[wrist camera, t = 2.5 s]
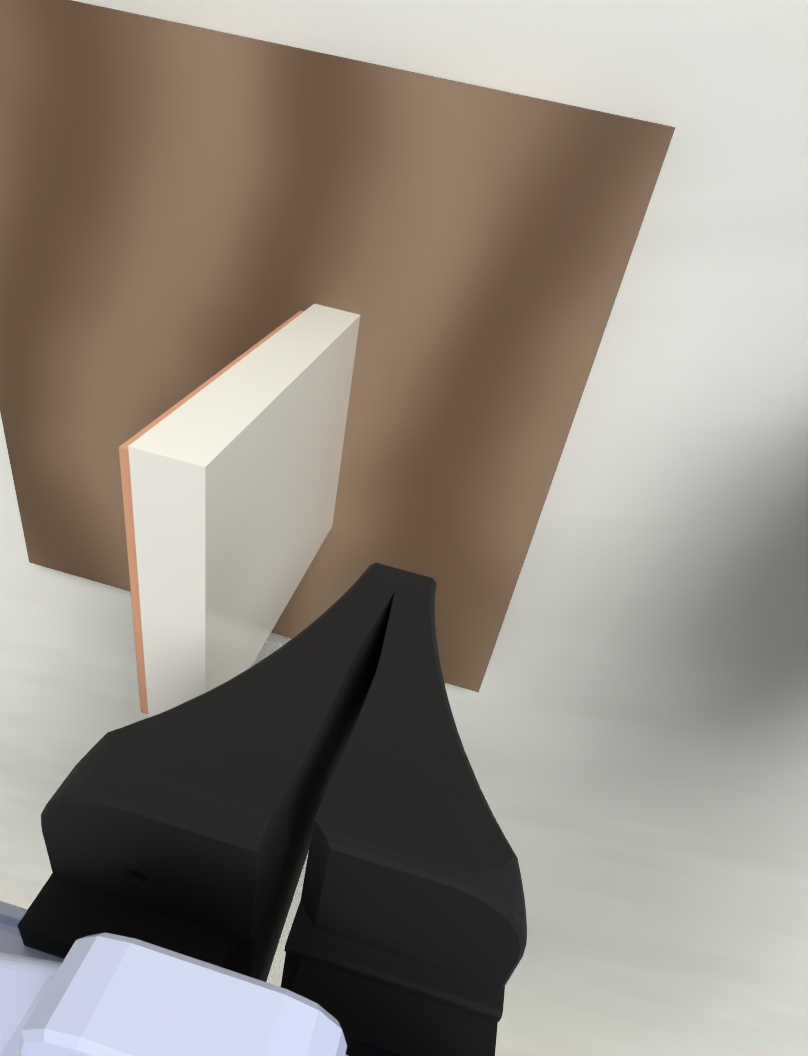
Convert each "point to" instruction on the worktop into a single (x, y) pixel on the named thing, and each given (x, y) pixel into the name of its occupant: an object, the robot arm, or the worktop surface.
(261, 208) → the walnut board
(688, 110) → the worktop surface
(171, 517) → the glazed tile
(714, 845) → the worktop surface
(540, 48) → the worktop surface
